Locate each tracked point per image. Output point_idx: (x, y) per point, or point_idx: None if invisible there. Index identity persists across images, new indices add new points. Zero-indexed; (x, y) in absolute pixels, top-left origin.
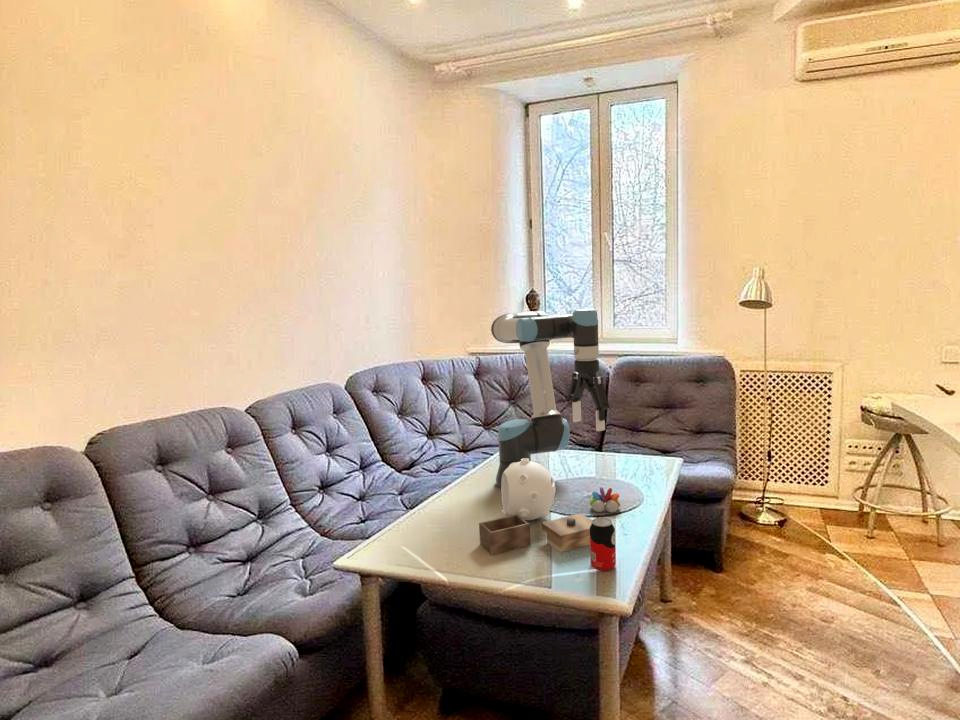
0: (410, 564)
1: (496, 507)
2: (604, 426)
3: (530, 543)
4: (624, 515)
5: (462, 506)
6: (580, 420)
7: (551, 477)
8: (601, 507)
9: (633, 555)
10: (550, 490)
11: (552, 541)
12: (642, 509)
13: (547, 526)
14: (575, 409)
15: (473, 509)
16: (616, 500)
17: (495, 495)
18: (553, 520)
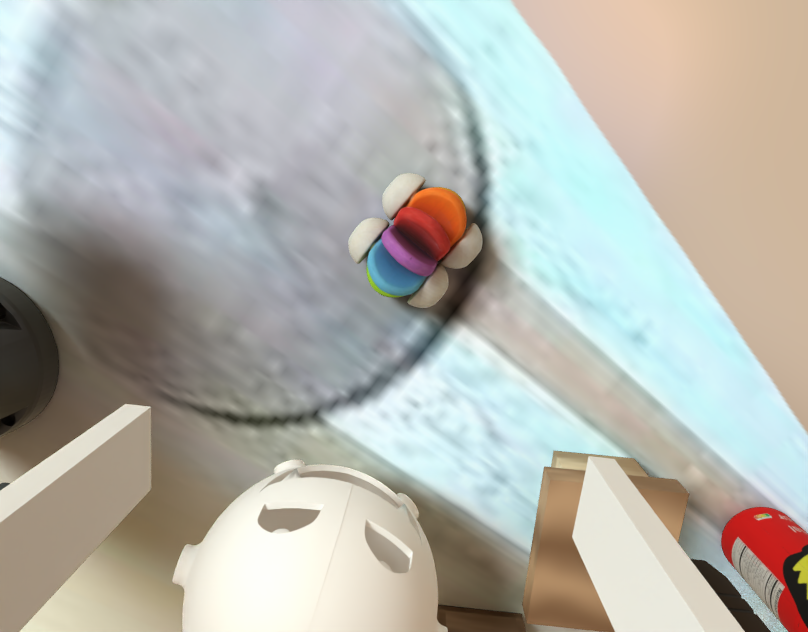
0: None
1: (179, 536)
2: (630, 486)
3: (524, 625)
4: (511, 224)
5: (111, 613)
6: (145, 419)
7: (370, 553)
8: (447, 288)
9: (765, 422)
10: (426, 568)
11: None
12: (510, 120)
13: (567, 627)
14: (56, 566)
15: (155, 599)
16: (422, 184)
17: None
18: (539, 587)
